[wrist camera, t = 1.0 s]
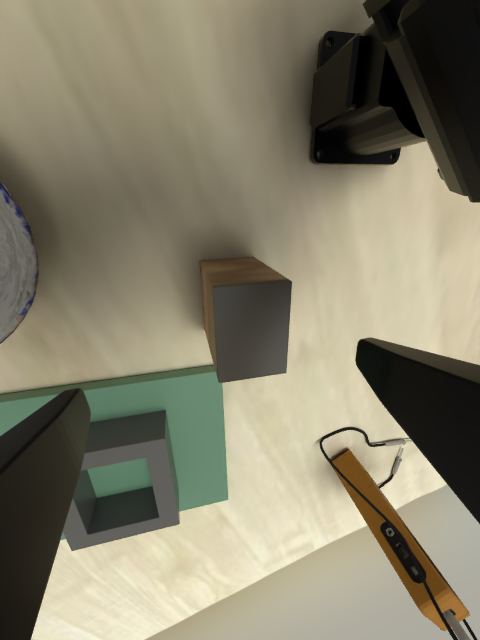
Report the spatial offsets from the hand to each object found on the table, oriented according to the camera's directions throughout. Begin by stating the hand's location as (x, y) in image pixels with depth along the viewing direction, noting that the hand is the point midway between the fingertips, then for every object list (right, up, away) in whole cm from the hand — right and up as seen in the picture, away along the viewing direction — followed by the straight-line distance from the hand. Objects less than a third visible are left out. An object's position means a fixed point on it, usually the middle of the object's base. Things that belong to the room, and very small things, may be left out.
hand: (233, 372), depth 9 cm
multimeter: (+16, -14, +24) cm, 32 cm away
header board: (-10, -10, +15) cm, 21 cm away
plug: (-1, +4, +12) cm, 12 cm away
